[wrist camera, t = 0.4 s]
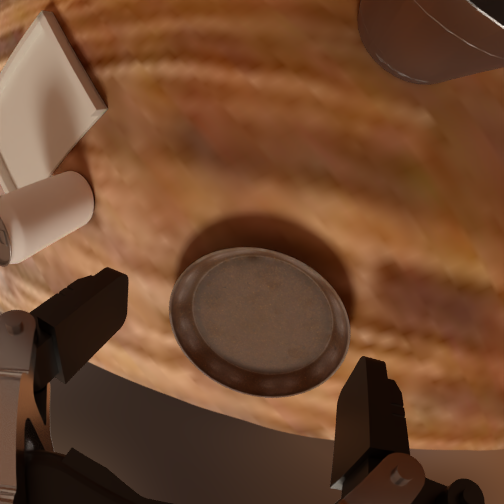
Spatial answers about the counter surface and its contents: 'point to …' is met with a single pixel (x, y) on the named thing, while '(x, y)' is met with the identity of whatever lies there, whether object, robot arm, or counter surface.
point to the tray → (43, 104)
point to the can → (42, 214)
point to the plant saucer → (259, 322)
